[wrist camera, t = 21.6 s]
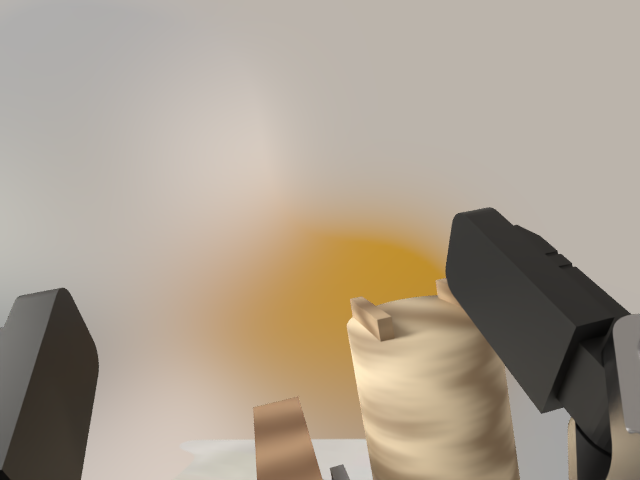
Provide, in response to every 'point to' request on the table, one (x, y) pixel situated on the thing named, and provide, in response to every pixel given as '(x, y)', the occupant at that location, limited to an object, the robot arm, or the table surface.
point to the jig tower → (430, 391)
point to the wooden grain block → (283, 443)
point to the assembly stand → (339, 473)
